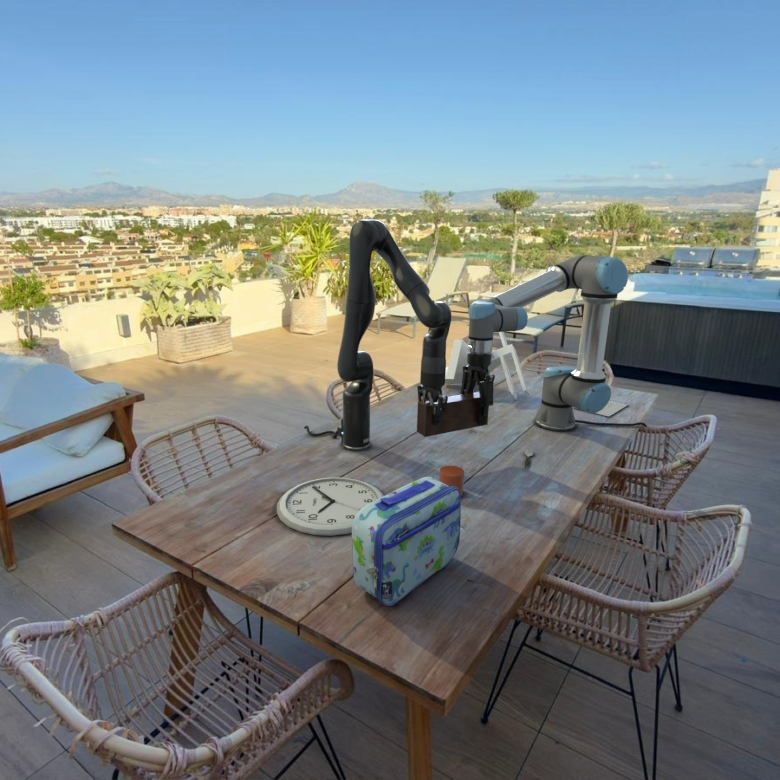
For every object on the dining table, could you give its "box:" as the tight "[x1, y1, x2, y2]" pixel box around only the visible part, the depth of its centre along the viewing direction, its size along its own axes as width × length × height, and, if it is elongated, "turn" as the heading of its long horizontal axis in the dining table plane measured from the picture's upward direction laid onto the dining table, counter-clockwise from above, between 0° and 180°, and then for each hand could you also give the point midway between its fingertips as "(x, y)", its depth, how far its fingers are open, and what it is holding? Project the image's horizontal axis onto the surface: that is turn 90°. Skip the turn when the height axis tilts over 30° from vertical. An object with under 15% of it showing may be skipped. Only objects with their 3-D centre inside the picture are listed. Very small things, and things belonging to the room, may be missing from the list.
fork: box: [524, 445, 535, 469], centre depth 172 cm, size 3×16×2 cm, turn 160°
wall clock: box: [276, 476, 385, 537], centre depth 142 cm, size 30×2×30 cm
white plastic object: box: [444, 332, 531, 400], centre depth 245 cm, size 37×45×31 cm
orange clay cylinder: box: [438, 465, 465, 498], centre depth 150 cm, size 7×7×7 cm
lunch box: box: [351, 476, 462, 607], centre depth 111 cm, size 26×11×21 cm, turn 135°
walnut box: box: [416, 391, 490, 438], centre depth 166 cm, size 24×5×10 cm, turn 118°
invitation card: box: [573, 400, 629, 418], centre depth 226 cm, size 21×1×15 cm
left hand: (430, 421), depth 162 cm, fingers closed on walnut box, 5 cm apart
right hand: (474, 420), depth 171 cm, fingers open, 7 cm apart
